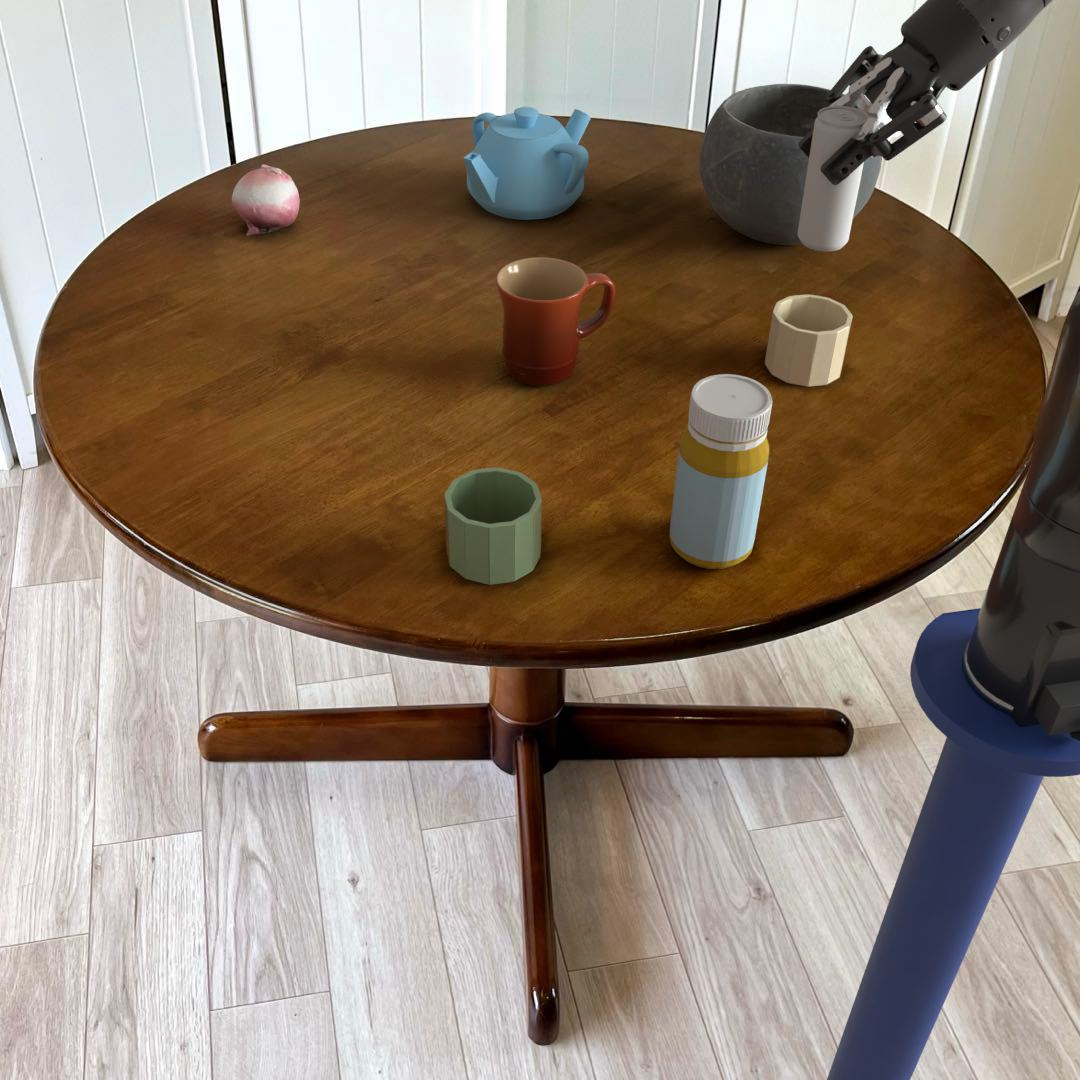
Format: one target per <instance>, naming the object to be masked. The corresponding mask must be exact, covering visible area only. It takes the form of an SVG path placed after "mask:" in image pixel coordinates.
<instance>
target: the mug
mask: <svg viewBox="0 0 1080 1080" xmlns="http://www.w3.org/2000/svg"><path fill="white" fill-rule="evenodd" d="M495 285H496V287H497V290H498V293H499V296H500V300H501V303H502V307H503V308H502V309H503V320H502V321H503V323H502V348H501V352H502V356H503V362H504V367H505V370H506V372H507V374H508V375H510V377H512V378H513V379H515V380H517V381H518V382H520V383H522V384H525V385H529V386H535V387H545V386H552V385H556V384H558V383H560V382H562V381H564V380H566V379H568V378H569V377H570V376H571V375H572V374H573V372H574V370H575V367H576V364H577V362H578V355H579V341H580V340H582V339H584V338H586V337H588V336H591V334H593V333H594V332H596V331H597V330H599V329H600V328H601V327H602V326H603V325H604V324H605V323H606V322H607V320H608V319H609V317H610V315H611V313H612V311H613V309H614V304H615V301H616V286H615V283H614V282H613V280H612V279H611V278H610V277H609V276H608V275H606V274H604V273H602V272H601V273H600V272H595V273H586V272H585V271H584V270H583V269H582V268H581V267H580V266H578V265H577V264H575V263H573V262H570V261H567V260H563V259H559V258H553V257H543V256H538V257H537V256H536V257H525V258H521V259H517V260H514V261H511V262H509V263H507V264H505V265H503V267H501V268H500V269H499V270H498V271H497V273H496V275H495ZM601 285H602V286H603V294H602V298H601V299H602V300H601V303H600V306H599V308H598V310H597V311H596V313H595V314H594V315H593V316H592V317H590V318H588V319H587V320H583V321H579V319H580V318H579V315H580V307H581V303H582V300H583V298H584V295H585V294H587V293H588V292H589V291H590V290H592V289H593V288H594V287H596V286H601Z"/></svg>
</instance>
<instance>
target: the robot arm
mask: <svg viewBox="0 0 1080 1080" xmlns="http://www.w3.org/2000/svg"><path fill="white" fill-rule="evenodd" d="M1053 1H1054V0H926V1H925V2H923V4H922V5H920V7H918V9H916V11H914V12H913V14H911V15H910V16H909V17H908V18H907V19H906V20H905V21H904V22H903V23H902V24H901V27H900V33H901V36H902V42H901V43H900V44H899V45H897V46H896V47H894V48H893V49H891V50H889V51H887V52H886V53H884V54H880V53H878V52H877V50H876V49H875V48H874V47H873V46H872V45H869V46H867V47H865V48H864V49H863V50H862V51H861V52H860V53H859V54H858V56H857V57H856V58H855V60H854V61H853V62H852V63H851V64H850V66H849V67H848V68H847V70H846V71H845V72H844V73H843V74H842V76H840V78H839V79H838V80H837V81H836V83H835V84H834V85H833V87H831V88H830V89H829V90H830V91H829V93H828V94H827V96H826V100H827V101H828V102H829V107H830V106H848V107H855V106H856V105H857V107H858V109H860V110H863V111H865V112H866V113H868V115H869V117H868V119H867V121H866V122H865V123H864V125H863V126H862V127H861V129H860V130H859V131H858V133H857V134H856V136H855V138H856V141H855V140H854V139H853V138H851V139H849V140H848V141H847V142H846V143H845V144H844V145H843V146H842V147H841V148H840V149H839V150H838V151H837V152H836V153H835V154H833V155H832V156H831V157H830V158H829V159H828V160H827V161H826V162H825V163H824V164H823V165H822V166H821V172H822V173H823V174H824V175H825V177H826V178H827V179H828V180H829V181H830V182H831V183H832V184H833V185H838V184H839V183H841V182H842V181H843V180H844V179H846V178H847V177H848V176H849V175H850V174H851V173H852V172H853V171H854V170H856V169H857V168H858V167H859V166H860V165H861V164H862V163H863V162H864V161H865V160H866V159H868V158H869V157H872V158H874V157H877V156H882V159H883V160H884V161H886V162H887V161H891V160H892V159H894V158H895V157H896V156H898V155H900V154H901V153H903V152H904V151H905V150H907V149H908V148H910V147H911V146H912V145H914V144H915V143H917V142H918V141H919V140H922V138H924V137H925V136H927V135H928V134H929V133H931V132H932V131H934V130H935V129H936V128H938V127H940V126H941V125H943V123H944V122H945V121H946V120H947V118H948V115H947V113H945V111H944V110H943V108H942V107H941V105H940V104H939V102H938V101H937V100H938V99H939V98H940V96H941V94H942V93H943V91H944V90H945V89H946V88H947V89H948V90H951V91H953V92H958V91H960V90H962V89H963V88H964V87H965V86H966V85H967V84H968V83H969V82H971V80H973V79H974V78H975V77H976V76H977V75H978V74H979V73H981V72H982V70H983V69H985V68H986V67H987V66H988V65H989V64H990V63H991V62H992V61H993V60H995V59H996V57H998V56H999V55H1000V54H1001V53H1003V51H1004V50H1005V49H1006V48H1007V47H1008V46H1009V45H1011V44H1012V43H1013V42H1014V41H1015V40H1016V39H1017V38H1018V37H1019V36H1021V35H1022V33H1024V32H1025V30H1027V28H1028V27H1029V26H1030V25H1031V24H1032V22H1033V21H1034V20H1035V18H1036V17H1037V16H1038V15H1039V14H1040V13H1041V12H1042V11H1043V10H1045V8H1047V7H1048V6H1049V5H1050V4H1051V3H1052V2H1053ZM847 89H848V92H846V93H845V91H846V90H847ZM842 94H845V95H844V96H842ZM877 127H878V128H879V130H877V131H876V132H875V133H873V132H874V131H875V129H876V128H877ZM813 130H814V128H813V129H812V130H811V131H809V132H808V133H807V134H806V135H805V137H804V138H803V139H801V140H800V142H799V148H800V149H801V150H802V151H803V152H804V153H805V154H806V156H807V157H808V158H809V156H810V150H811V143H812V137H813ZM901 134H902V136H900V135H901ZM893 138H895V139H896V138H898V139H896V140H895V141H893V142H892V143H891V140H892V139H893ZM1032 442H1033V443H1032V447H1031V455H1030V464H1029V467H1028V470H1027V472H1026V476H1025V479H1024V482H1023V485H1022V488H1021V491H1020V493H1019V496H1018V499H1017V502H1016V505H1015V508H1014V511H1013V513H1012V515H1011V519H1010V522H1009V525H1008V528H1007V531H1006V534H1005V536H1004V540H1003V542H1002V545H1001V548H1000V550H999V551H1000V552H999V555H998V557H997V560H996V563H995V565H994V568H993V571H992V574H991V578H990V580H989V584H988V585H987V589H986V592H985V595H984V597H983V598H984V599H983V601H982V604H981V607H980V608H981V609H980V612H979V615H978V618H977V621H976V625H975V628H974V631H973V633H972V636H971V639H970V640H969V642H968V644H967V646H966V649H965V652H964V655H963V660H962V667H963V672H964V675H965V677H966V680H967V682H968V683H969V685H970V686H971V688H972V689H973V690H974V691H975V693H976V694H977V695H978V696H979V697H980V698H982V699H983V700H984V701H985V702H987V703H988V704H989V705H991V706H992V707H994V708H996V709H997V710H999V711H1001V712H1003V713H1005V714H1007V715H1009V716H1011V718H1012V719H1013V720H1014V721H1015V723H1016V724H1017V725H1018V726H1019V727H1027V726H1033V725H1040V724H1041V726H1042V727H1043V729H1044V730H1045V731H1046V733H1047V734H1048V736H1050V735H1057V734H1063V733H1069V732H1070V736H1071V737H1072V738H1074V739H1077V740H1079V741H1080V291H1079V292H1078V293H1077V295H1076V296H1075V297H1074V299H1073V302H1072V303H1071V305H1070V307H1069V308H1068V310H1067V314H1066V316H1065V319H1064V323H1063V325H1062V328H1061V332H1060V334H1059V339H1058V341H1057V346H1056V349H1055V353H1054V356H1053V361H1052V365H1051V368H1050V373H1049V377H1048V380H1047V383H1046V387H1045V391H1044V395H1043V398H1042V401H1041V405H1040V408H1039V412H1038V415H1037V419H1036V422H1035V426H1034V433H1033V441H1032Z"/></svg>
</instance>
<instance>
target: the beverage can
mask: <svg viewBox="0 0 1080 1080" xmlns="http://www.w3.org/2000/svg"><path fill="white" fill-rule="evenodd" d="M868 117H869V115H868V113H866V112H865V111H863V110H860V109H857V108H854V107H848V106H830V107H825V108H823V109H821V110H819V112H818V117H817V118H816V120H815V124H814V130H813V137H812V143H811V150H810V156H809V162H808V169H807V175H806V182H805V188H804V195H803V201H802V208H801V214H800V220H799V227H798V237H799V239H800V241H801V243H802V244H801V245H803V246H804V247H806V248H808V249H810V250H813V251H818V252H826V253H827V252H835V251H839V250H841V249H842V248H844V246H846V245H847V243H848V242H849V240H850V235H851V230H852V225H853V219H854V218H853V214H854V209H855V205H856V200H857V195H858V190H859V185H860V180H861V175H862V170H863V164H864V162H863V163H862V164H861V165H860V166H859V167H858V168H857V169H856V170H854V171H853V172H852V173H851V174H850V175H849V176H848V177H847V178H846V179H844V180H843V181H842V182H841V183H839V184H838V185H833V184H832V183H831V182H830V181H829V180H828V179H827V178H826V177H825V175H824V174H823V173H822V172H821V166H822V165H823V164H824V163H825V162H826V161H827V160H828V159H829V158H830V157H831V156H832V155H833V154H835V153H836V152H837V151H838V150H839V149H840V148H841V147H842V146H843V145H844V144H845V143H846V142H847V141H848V140H849V139H851V138H853V139H854V140H855V141H856V138H855V136H856V134H857V133H858V131H859V130H860V129H861V127H862V126H863V125H864V123H865V122H866V121H867V119H868Z"/></svg>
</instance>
